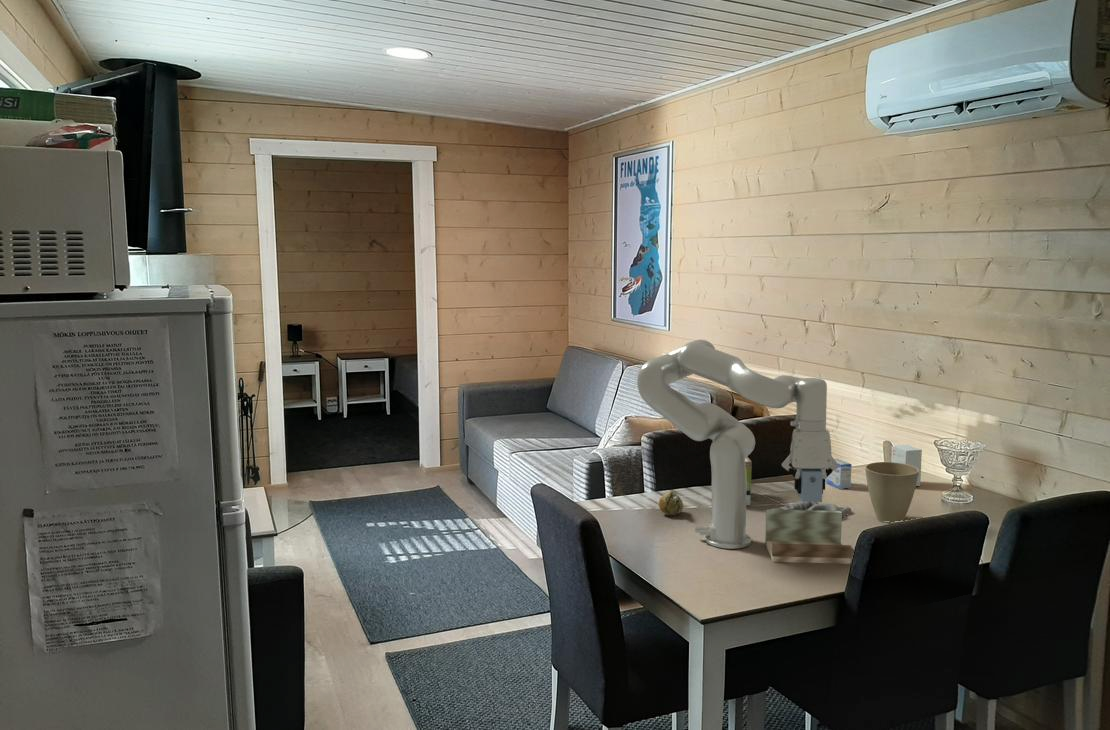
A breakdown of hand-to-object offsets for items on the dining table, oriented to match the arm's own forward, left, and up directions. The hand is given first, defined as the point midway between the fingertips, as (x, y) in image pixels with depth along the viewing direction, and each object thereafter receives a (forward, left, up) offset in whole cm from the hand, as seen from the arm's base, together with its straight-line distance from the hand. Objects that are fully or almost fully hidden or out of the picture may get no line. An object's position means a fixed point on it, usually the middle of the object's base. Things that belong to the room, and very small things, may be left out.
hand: (809, 491), depth 219 cm
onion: (-35, +31, -18) cm, 50 cm away
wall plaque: (+8, +32, -18) cm, 37 cm away
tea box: (-15, +48, -18) cm, 53 cm away
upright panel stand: (0, 0, -17) cm, 17 cm away
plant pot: (+30, +30, -18) cm, 46 cm away
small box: (+46, +68, -18) cm, 84 cm away
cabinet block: (0, 0, -2) cm, 2 cm away
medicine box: (+23, +65, -18) cm, 71 cm away
